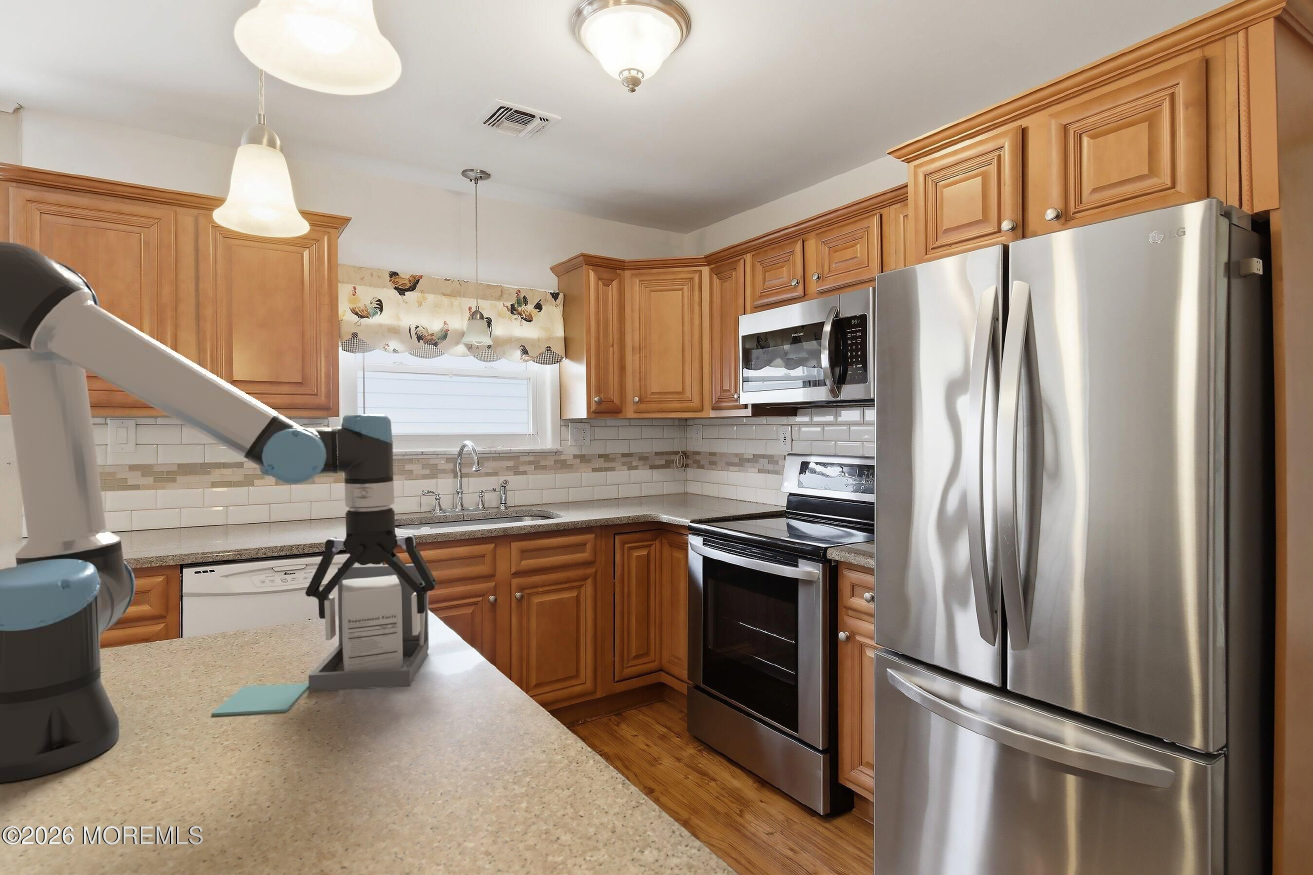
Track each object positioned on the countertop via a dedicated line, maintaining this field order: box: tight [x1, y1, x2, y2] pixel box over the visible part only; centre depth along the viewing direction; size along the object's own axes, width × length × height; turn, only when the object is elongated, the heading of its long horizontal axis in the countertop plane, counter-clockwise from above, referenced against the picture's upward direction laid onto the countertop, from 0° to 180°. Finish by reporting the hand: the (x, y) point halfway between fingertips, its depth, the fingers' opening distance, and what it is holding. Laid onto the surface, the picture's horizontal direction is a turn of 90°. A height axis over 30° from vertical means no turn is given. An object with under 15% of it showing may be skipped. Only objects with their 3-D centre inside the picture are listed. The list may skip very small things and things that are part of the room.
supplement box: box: [342, 575, 404, 671], centre depth 117 cm, size 9×9×15 cm
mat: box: [211, 682, 309, 717], centre depth 105 cm, size 10×10×1 cm
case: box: [308, 563, 430, 692], centre depth 117 cm, size 15×16×16 cm
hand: (374, 635), depth 117 cm, fingers open, 13 cm apart
